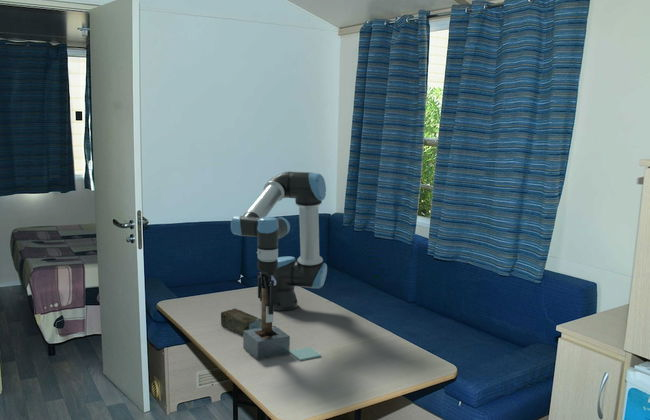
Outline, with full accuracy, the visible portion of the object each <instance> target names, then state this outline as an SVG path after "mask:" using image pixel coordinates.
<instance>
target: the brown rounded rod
mask: <svg viewBox="0 0 650 420" xmlns="http://www.w3.org/2000/svg"><path fill="white" fill-rule="evenodd" d="M266 305H267V293H266V288H262V331H264V332H269V331H272V326H273V322H269V323H266Z"/></svg>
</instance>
